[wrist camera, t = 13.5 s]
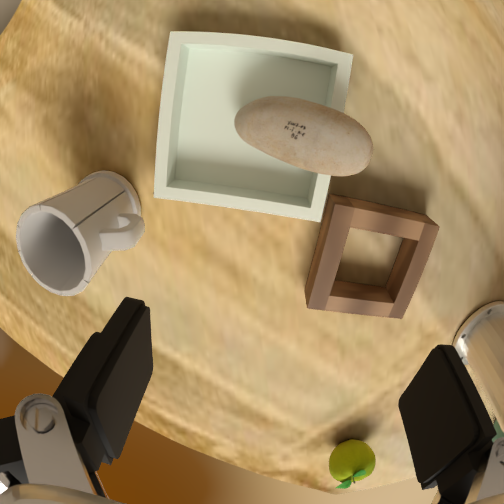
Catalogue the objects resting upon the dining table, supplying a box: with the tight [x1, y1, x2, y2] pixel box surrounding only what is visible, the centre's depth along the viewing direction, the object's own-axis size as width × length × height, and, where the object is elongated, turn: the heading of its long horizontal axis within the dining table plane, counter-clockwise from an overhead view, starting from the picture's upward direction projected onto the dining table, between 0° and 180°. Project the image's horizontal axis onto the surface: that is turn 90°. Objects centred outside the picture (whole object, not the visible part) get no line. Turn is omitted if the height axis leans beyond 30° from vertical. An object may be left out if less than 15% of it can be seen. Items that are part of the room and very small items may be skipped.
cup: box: [16, 170, 145, 296], centre depth 28 cm, size 10×9×12 cm
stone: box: [234, 96, 373, 176], centre depth 24 cm, size 6×6×12 cm
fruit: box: [329, 439, 375, 488], centre depth 49 cm, size 9×9×10 cm
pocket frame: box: [305, 194, 439, 319], centre depth 33 cm, size 12×12×4 cm
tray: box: [154, 31, 353, 222], centre depth 27 cm, size 16×16×4 cm
